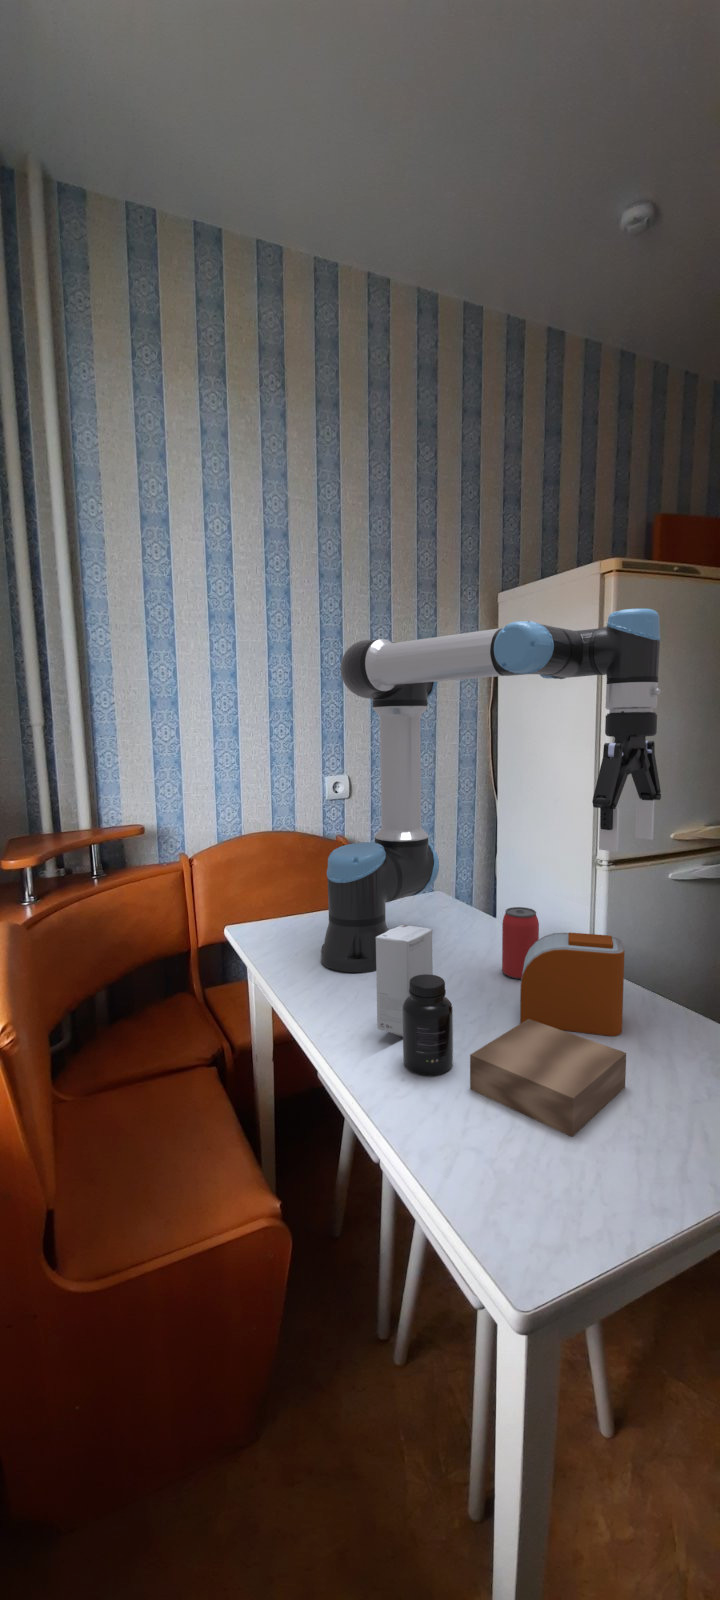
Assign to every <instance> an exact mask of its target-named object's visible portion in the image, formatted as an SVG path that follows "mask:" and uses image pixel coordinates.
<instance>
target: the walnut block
mask: <svg viewBox="0 0 720 1600" xmlns="http://www.w3.org/2000/svg"><path fill="white" fill-rule="evenodd" d="M626 1070H627V1052H626V1051H625V1052H624V1051H623V1050H619V1049H616V1048H613V1047H610V1046H608V1045H605V1044H602V1043H599V1042H596V1041H593V1040H591V1039H587V1038H585V1037H582V1036H579V1035H576V1034H573V1033H570V1032H569V1031H565V1030H559V1029H556V1028H553V1027H551V1026H548V1025H545V1024H542V1023H539V1022H536V1021H533V1020H531V1019H527V1020H526V1021H524V1022H522V1023H521V1024H520V1023H519V1024H517V1025H516V1026H514V1027H512V1028H511V1029H510V1030H508V1031H506V1032H505V1033H503V1034H501V1035H500V1036H498V1037H497V1038H495V1039H493V1040H492V1041H490V1042H488V1043H487V1044H485V1045H484V1046H482V1047H480V1048H479V1049H477V1050H475V1051H474V1052H472V1053H471V1054H470V1055H469V1090H471V1091H473V1092H475V1093H477V1094H480V1095H482V1096H484V1097H486V1098H488V1099H491V1100H493V1101H495V1102H497V1103H499V1104H501V1105H503V1106H506V1107H508V1108H510V1109H511V1110H514V1111H516V1112H518V1113H520V1114H523V1116H526V1117H528V1118H531V1119H533V1120H535V1121H537V1122H540V1123H542V1124H544V1125H545V1126H548V1127H550V1128H552V1129H554V1130H556V1131H559V1132H560V1133H563V1134H565V1135H568V1136H570V1137H571V1138H572V1137H574V1136H575V1135H576V1134H577V1133H578V1132H579V1131H580V1130H581V1129H583V1128H584V1127H585V1126H586V1125H587V1124H588V1123H589V1122H591V1120H593V1118H594V1117H596V1115H597V1114H599V1113H600V1112H601V1110H602V1109H604V1108H605V1107H606V1106H607V1105H608V1104H609V1103H610V1102H611V1101H613V1099H614V1098H615V1097H616V1096H618V1095H619V1094H620V1093H621V1092H622V1091H623V1090H624V1089H625V1088H626V1073H627V1071H626Z"/></svg>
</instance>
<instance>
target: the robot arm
mask: <svg viewBox="0 0 720 1600" xmlns="http://www.w3.org/2000/svg"><path fill="white" fill-rule="evenodd" d="M660 626H661V625H660V615H659V613H658V612H657V611H656V610H655V609H652V608H626V609H621V610H620V609H619V610H618V611H617V610H616V611H614V612H611V613H610V614H609V615H608V617H607V622H606V626H602V627H598V628H591V629H582V630H581V629H580V630H571V629H567V628H562V627H556V626H551V625H547V624H541V623H539V622H535V621H532V620H529V621H520V620H519V621H518V620H517V621H512V622H510V623H508V624H506V625H505V626H503V627H500V628H499V627H498V628H494V629H486V630H484V629H483V630H477V631H471V632H463V633H458V634H457V633H456V634H448V635H443V636H436V637H427V638H426V637H425V638H421V639H413V640H407V641H406V640H405V641H400V642H399V641H397V642H392V641H391V640H388V639H385V638H378V639H363V640H359V641H357V642H355V643H353V644H352V645H351V646H349V647H348V648H347V650H346V651H345V652H344V653H343V656H342V659H341V662H340V675H341V679H342V682H343V683H344V685H345V686H346V688H347V689H348V690H349V691H350V692H351V693H352V694H354V695H356V696H357V697H360V698H364V699H371V700H372V710H373V711H374V712H375V713H376V714H377V716H379V725H380V726H379V739H380V740H379V744H380V752H379V753H380V808H381V809H380V810H381V811H380V812H381V813H380V815H381V826H380V827H381V828H380V829H379V830H378V831H377V832H376V833H375V834H374V842H370V841H367V842H366V841H363V842H357V843H349V844H344V845H342V846H339V847H337V848H335V849H333V850H332V851H331V852H330V854H329V855H328V857H327V870H326V877H327V898H328V900H327V901H328V925H327V929H326V932H325V937H324V941H323V942H324V943H323V944H322V946H321V949H320V958H321V959H320V962H321V961H322V962H321V963H322V964H323V965H324V966H325V967H327V968H328V969H332V970H333V971H339V972H343V973H344V972H345V973H367V972H374V971H376V937H377V936H379V935H381V934H383V933H385V932H387V931H388V930H389V929H388V926H387V922H386V919H387V918H386V904H387V903H390V902H393V901H398V900H401V899H405V898H408V897H414V896H417V895H419V894H421V893H422V892H424V891H427V890H428V889H429V888H430V887H431V886H432V885H433V884H434V883H435V882H436V879H437V877H438V874H439V871H440V860H439V855H438V853H437V851H435V847H434V846H433V845H432V844H431V843H430V842H429V834H428V833H427V832H426V831H425V829H423V828H422V783H421V782H422V773H421V772H422V770H421V769H422V766H421V765H422V762H421V761H422V760H421V757H422V755H421V752H422V750H421V742H422V741H421V740H422V739H421V736H422V735H421V716H422V714H424V712H425V711H426V710H427V709H428V707H429V705H428V701H429V700H428V699H429V698H430V697H431V696H432V695H433V694H434V690H436V689H437V686H438V682H443V681H444V682H446V681H457V680H468V679H482V678H483V679H484V678H492V677H493V678H495V677H510V676H513V677H514V676H524V675H539V676H540V677H541V678H544V679H548V680H549V679H554V680H564V679H568V678H569V679H570V678H580V677H581V678H582V677H590V676H591V677H592V676H606V683H605V684H606V687H605V709H606V710H608V713H607V714H606V715H605V720H604V722H605V726H604V728H605V729H604V734H605V736H607V737H611V738H613V737H614V742H605V743H604V744H603V753H602V760H601V765H600V768H599V772H598V777H597V780H596V784H595V789H594V792H593V797H592V801H591V802H592V806H593V808H598V809H599V828H598V829H599V834H598V850H600V851H605V852H606V851H607V852H608V851H609V852H614V853H615V852H616V853H617V852H619V839H620V838H619V835H620V833H619V832H620V808H617V806H618V803H619V801H620V798H621V794H622V793H623V790H624V788H625V785H626V781H627V778H628V777H629V775H631V777H632V780H633V783H634V786H635V789H636V792H637V795H638V798H639V799H636V802H635V805H636V806H635V829H634V831H635V832H634V834H635V835H634V838H635V839H641V840H648V841H649V840H651V841H652V840H654V830H655V829H654V827H655V802H656V801H660V800H661V799H662V794H661V792H662V790H661V784H660V779H659V773H658V772H659V770H658V767H657V761H656V755H655V754H656V753H655V752H656V751H655V746H656V745H655V741H654V740H646V737H654V736H656V734H657V728H658V727H657V726H658V714H657V713H656V712H654V711H653V710H654V709H657V707H658V695H660V694H661V691H662V690H661V689H660V688H659V668H660V667H659V666H660V665H659V663H660V649H661V647H660V645H661V639H662V637H661V632H660V631H661V629H660V628H661V627H660Z"/></svg>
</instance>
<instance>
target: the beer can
mask: <svg viewBox="0 0 720 1600" xmlns="http://www.w3.org/2000/svg"><path fill="white" fill-rule="evenodd" d="M501 923H502V929H501V931H502V933H501V935H502V937H501V939H502V942H501V946H502V947H501V949H502V951H501V953H502V954H501V955H502V956H501V957H502V960H501V964H502V966H501V971H502V972H503V974H504V975H505V976H507V977H509V978H511V979H518V980H521V979H522V973H523V967H524V961H525V957H526V955H527V953H528V951H529V949H530V948H531V946H532V945H533V944H534V943H535V942H536V941H538V940H539V939H540V938H539V937H540V932H539V931H540V921H539V918H538V917H537V911H536V910H535V909H533V908H529V907H524V906H523V907H522V906H514V907H513V906H512V907H509V908H507V909H505V913H504V915H503V918H502V922H501Z"/></svg>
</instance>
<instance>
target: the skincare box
mask: <svg viewBox="0 0 720 1600" xmlns="http://www.w3.org/2000/svg"><path fill="white" fill-rule="evenodd" d="M433 969H434V967H433V929H432V928H427V927H420V926H414V925H406V924H401V925H398V926H397V927H394V928H391V929H388V931H387V932H385V933H383V934H381V935H379V936H377V937H376V970H375V971H376V972H375V973H376V1015H377V1016H376V1017H377V1019H376V1025H377V1030H380V1031H384V1032H387V1033H391V1034H394V1035H396V1036H399V1037H402V1038H403V1003H404V1001H405V1000H406V998H408V997H409V996H410V995H409V982H410V979H411V978H412V977H414V976H417V975H423V974H430V975H434V973H433V972H434V971H433Z"/></svg>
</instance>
